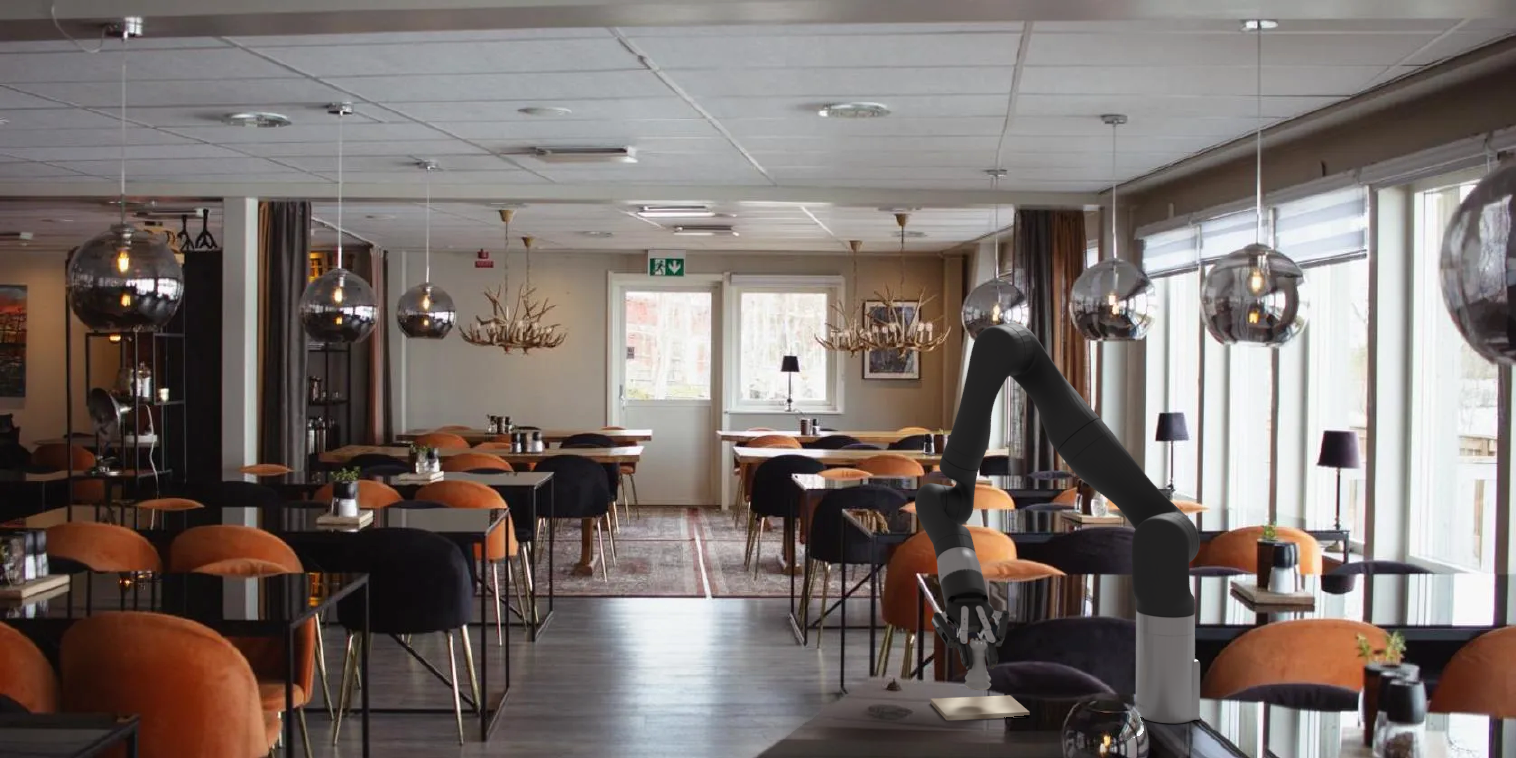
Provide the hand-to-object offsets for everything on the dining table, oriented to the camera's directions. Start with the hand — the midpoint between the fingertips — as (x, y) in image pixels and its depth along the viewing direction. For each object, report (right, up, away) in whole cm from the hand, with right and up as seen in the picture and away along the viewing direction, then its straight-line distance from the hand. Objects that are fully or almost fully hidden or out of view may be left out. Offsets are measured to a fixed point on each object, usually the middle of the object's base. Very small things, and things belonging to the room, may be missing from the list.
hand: (981, 666), depth 215 cm
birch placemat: (0, -8, +2) cm, 8 cm away
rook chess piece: (0, -4, +2) cm, 5 cm away
